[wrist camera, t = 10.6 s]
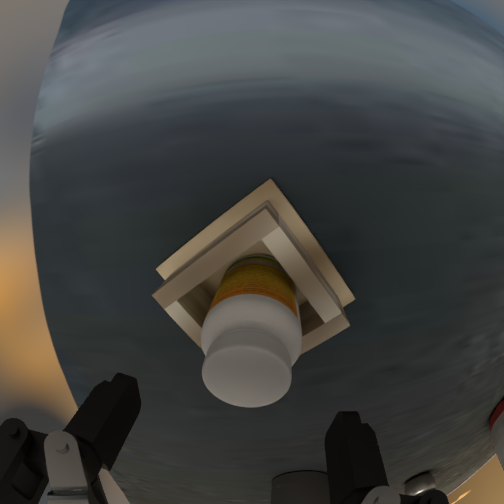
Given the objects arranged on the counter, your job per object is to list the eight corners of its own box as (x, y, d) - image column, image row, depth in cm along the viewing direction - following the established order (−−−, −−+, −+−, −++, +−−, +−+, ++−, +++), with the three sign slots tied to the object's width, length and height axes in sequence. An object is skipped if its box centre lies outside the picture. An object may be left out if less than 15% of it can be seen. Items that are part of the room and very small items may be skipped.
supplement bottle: (211, 264, 20) (164, 343, 11) (283, 243, 19) (291, 317, 10) (235, 325, 21) (213, 421, 12) (302, 309, 21) (317, 406, 11)
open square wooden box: (352, 293, 21) (369, 327, 16) (244, 357, 24) (237, 396, 19) (271, 177, 19) (269, 182, 14) (160, 264, 22) (132, 291, 17)
